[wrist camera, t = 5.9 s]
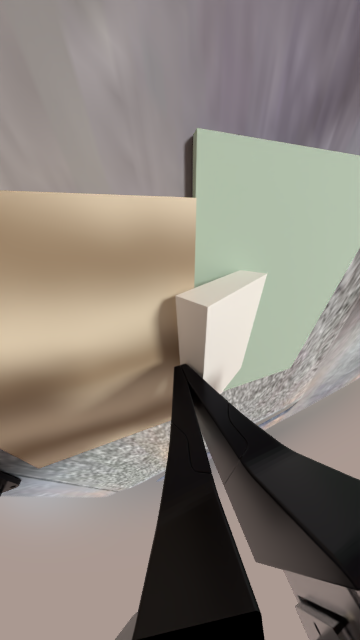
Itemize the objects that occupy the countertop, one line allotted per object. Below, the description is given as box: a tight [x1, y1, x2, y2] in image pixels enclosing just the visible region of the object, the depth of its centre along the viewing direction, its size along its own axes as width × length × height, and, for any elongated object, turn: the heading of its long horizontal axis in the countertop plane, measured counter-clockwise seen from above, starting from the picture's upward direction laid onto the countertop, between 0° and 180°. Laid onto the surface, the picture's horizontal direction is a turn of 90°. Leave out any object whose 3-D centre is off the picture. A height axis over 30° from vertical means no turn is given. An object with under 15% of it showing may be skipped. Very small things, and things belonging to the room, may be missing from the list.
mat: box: [192, 128, 360, 391], centre depth 15 cm, size 24×18×1 cm
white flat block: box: [175, 270, 267, 394], centre depth 11 cm, size 10×7×2 cm
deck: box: [0, 191, 197, 468], centre depth 10 cm, size 18×14×3 cm
